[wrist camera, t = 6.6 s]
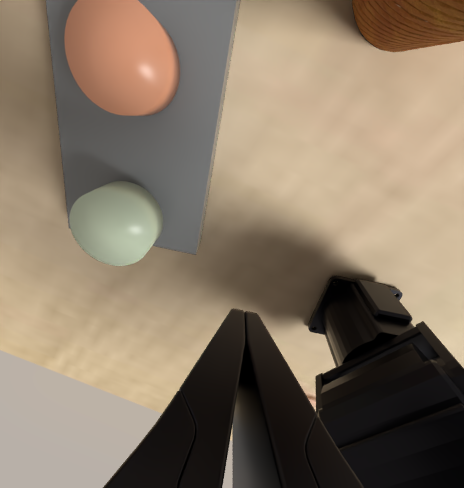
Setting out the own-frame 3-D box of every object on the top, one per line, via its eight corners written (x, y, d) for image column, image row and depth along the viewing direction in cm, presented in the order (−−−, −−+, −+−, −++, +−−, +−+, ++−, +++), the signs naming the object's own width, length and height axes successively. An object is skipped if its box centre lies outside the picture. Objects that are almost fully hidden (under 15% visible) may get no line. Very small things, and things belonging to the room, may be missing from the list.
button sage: (160, 254, 19) (148, 272, 17) (93, 240, 19) (73, 257, 16) (166, 190, 17) (153, 201, 14) (90, 173, 16) (65, 182, 14)
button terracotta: (175, 124, 16) (163, 125, 13) (95, 105, 15) (69, 103, 13) (184, 21, 13) (172, 3, 11) (91, -1, 13) (58, -26, 11)
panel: (200, 243, 22) (195, 254, 20) (84, 219, 21) (69, 228, 19) (273, -204, 11) (278, -264, 9) (50, -266, 11) (10, -341, 9)
